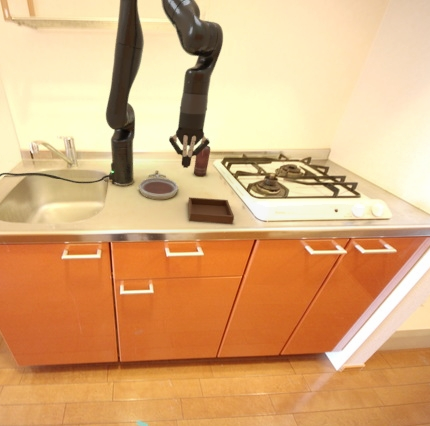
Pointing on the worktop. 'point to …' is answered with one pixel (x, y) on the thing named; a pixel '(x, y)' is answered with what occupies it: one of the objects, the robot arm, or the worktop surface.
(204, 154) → the can
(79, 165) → the worktop surface
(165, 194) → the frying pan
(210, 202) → the tray
